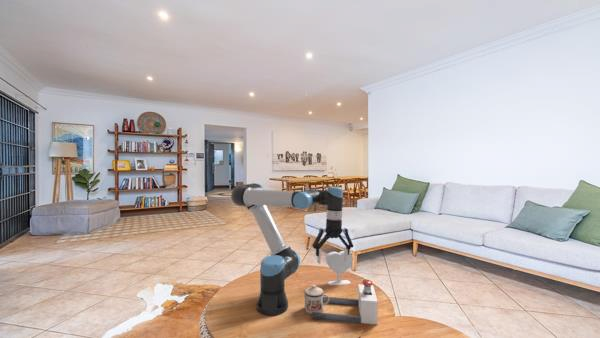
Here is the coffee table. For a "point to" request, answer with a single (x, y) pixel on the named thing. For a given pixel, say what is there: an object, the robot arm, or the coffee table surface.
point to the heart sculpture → (338, 265)
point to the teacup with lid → (314, 299)
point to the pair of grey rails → (338, 316)
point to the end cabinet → (368, 306)
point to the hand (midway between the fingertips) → (332, 262)
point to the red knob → (367, 287)
